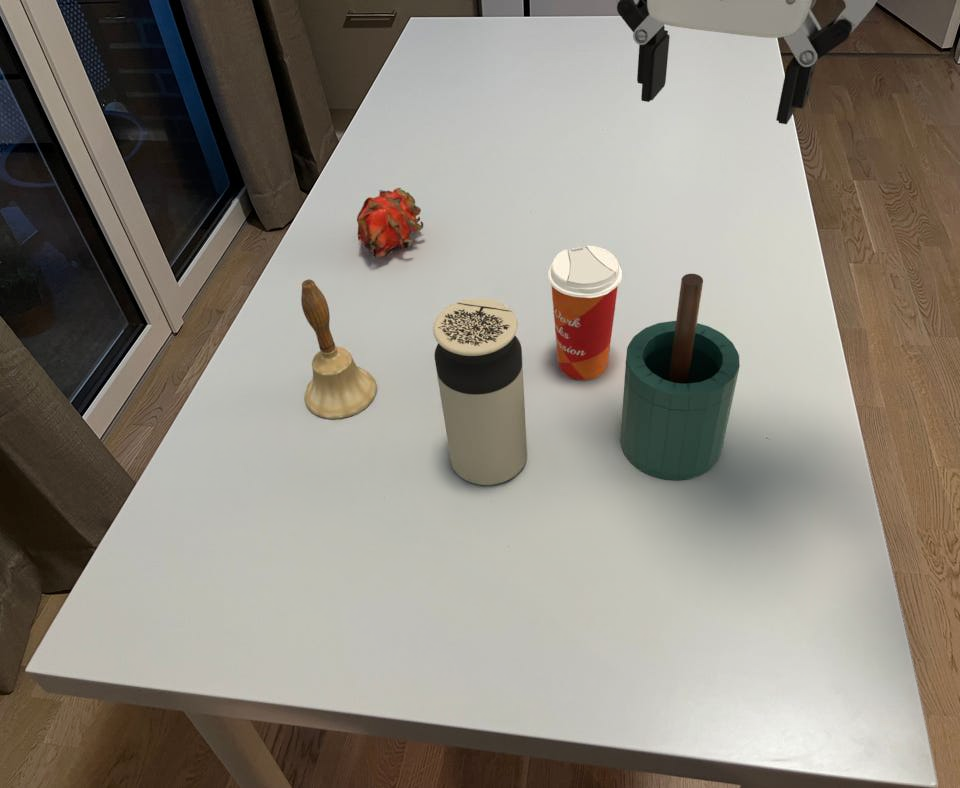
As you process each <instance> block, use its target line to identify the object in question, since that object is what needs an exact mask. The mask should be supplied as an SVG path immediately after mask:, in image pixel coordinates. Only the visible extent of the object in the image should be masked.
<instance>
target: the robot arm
mask: <svg viewBox="0 0 960 788" xmlns="http://www.w3.org/2000/svg"><path fill="white" fill-rule="evenodd" d="M842 1H843V2H844V5H845V7H844V9H843V10H842V11H841V12H840V14H839V15H838V16H837V17H835V18H834V19H833V20H831V21H830V22H829V23H827V24H826V25H825V26H823V27H821V25H820V23H819V21H818V20H817V18H816V16H815V15H814V13H813V11H812V9H813V8H814V7H815V4H816V3H817V0H615V2H616V4H617V5H616V11H617V13H618V15H619V16H620V18H622V20H623V21H624V23H625V24H626V25H627V27H628V28H629V29H630V30H631V32H632V39H633V40H634V43H636V44H637V45H638V57H637V58H638V59H637V60H638V61H637V77H636V81H637V84H639V85H641V98H640V100H641V102H646V103H650V102H651V101H653V100H654V99H655V98H656V97H657V96H658V94H659V93H660V92H661V91H662V90H663V88H664V87H665V85H666V83H667V82H666V81H667V72H668V59H669V50H670V49H669V48H670V34H669V30H666V27H665V25H666V26H670V27H675V28H681V29H689V30H697V31H706V32H714V33H722V34H729V35H738V36H748V37H756V38H765V39H766V38H769V39H778V38H783V39H784V41H785V42H786V45H788V48H789V50H790V51H791V53H792V54H793V57H792V58H791V60H790V61H789V63H788V64H787V66H786V68H785V74H784V78H783V83H782V87H781V88H782V89H781V94H780V98H779V102H778V103H779V104H778V109H777V114H776V119H775V121H777V122H778V124H781V125H787V124H788V123H789V121H790V120H791V118H792V116H793V114H794V113H795V111H796V110H797V109H802V110H803V109H804V108H805V107H806V105H807V102H808V99H809V97H810V92H811V87H812V82H813V79H814V75H815V74H814V73H815V70H816V65H817V61H818V60H820V59H821V58H822V57H824V56H825V55H827V54H828V53H829V52H831V51H832V50H834V49H835V48H837V47H838V46H839V45H841V44H843V43H844V42H845V41H847V39H848V38H849V37H850V36H851V34H853V32H854V31H855V30H856V28H857V27H858V26H859V25H860V23H862V21H863V20H864V19H865V18H866V17H867V15H868V14H869V13H870V11H871V10H872V9H873V8H874V7H875V6H876V3H877V2H878V0H842Z"/></svg>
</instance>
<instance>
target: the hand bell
mask: <svg viewBox="0 0 960 788" xmlns="http://www.w3.org/2000/svg"><path fill="white" fill-rule="evenodd" d="M300 300H301V301H300V303H301V308H302V311H303V314H304V317H305V319H306V321H307V322H308V323H307V324H309V326H310V327H311V328H312V330H313V331H314V333H315V335H316V339H317V343H318V347H319V351H317V353H315V355H314V356H313V358H312V360H311V368H312V379H311V380H310V381H309V383H308V385H307V387H306V389H305V391H304V403H305V406H306V408H307V409H308V410H309V412H311V413H312V414H313V415H315V416H317V417H320V418H323V419H327V420H342V419H346V418H350V417H353V416H355V415H357V414H359V413H361V412H363V411H364V410H365V409H367V407H369V405H370V404H372V402H373V401H374V399H375V397H376V395H377V389H378V387H377V386H378V385H377V382H376V379H375V378H374V377H373V375H372V374H371V373H370V372H368V371H367V370H365V369H364V368H362V367H360V366H357V363H356V362H355V361H354V358H353V356H352V354H351V352H350V351H349V350H348V349H346V348H345V347H343V346H337V345H336V343H335V340H334V337H333V335H332V332H331V329H330V328H331V327H330V319H331V318H330V309H329V304H328V302H327V299H326V297H325V295H324V293H323V292H322V290H320V288H319V287H318V286H317V285H316V282H315V281H314V280H313V279H310V278H309V279H305V280H303V281H302V283H301V299H300Z"/></svg>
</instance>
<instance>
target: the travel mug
mask: <svg viewBox="0 0 960 788" xmlns="http://www.w3.org/2000/svg"><path fill="white" fill-rule="evenodd" d="M517 331H518V318H517V316H516V314H515V312H514V311H513V310H512V309H511V308H510V307H509V306H507V305H505V304H504V303H501V302H499V301H497V300H493V299H487V298H471V299H465V300H464V299H463V300H460V301H458V302H456V303H453V304H451V305H449V306H448V307H445V308H444V309H443V310H442V311H441V312H439V314H438V315H437V317H436V318H435V320H434V323H433V326H432V334H433V337H434V339H435V340H436V342H437V345H436V347H435V348H434V349H435V350H434V356H433V357H434V364H435V370H436V375H437V383H438V388H439V394H440V400H441V408H442V414H443V420H444V421H443V422H444V426H445V432H446V434H445V435H446V439H447V445H448V446H447V447H448V452H449V457H450V465H451V466H452V468H453V470H454V472H455V473H456V474H457V475H458V476H459V477H461V478H462V479H463V480H465V481H467V482H470V483H472V484H476V485H480V486H481V485H483V486H491V485H492V486H493V485H497V484H501V483H504V482H507V481H509V480H510V479H512V478H514V477H515V476H516V475H518V474H519V473H520V472H521V471H522V469H523V468H524V467H525V465H526V463H527V458H528V443H527V425H526V406H525V387H524V369H523V367H524V366H523V350H522V344H521V342H520V340H519V338H518V336H516V335H517Z"/></svg>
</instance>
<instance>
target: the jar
mask: <svg viewBox="0 0 960 788" xmlns="http://www.w3.org/2000/svg"><path fill="white" fill-rule="evenodd" d="M675 326H676V320H670V321H663V322H657V323H655V324H652V325H649V326H647V327H645V328H643V329H642V330H640V331H638V333H636V334H635V335H634V336H633V337H632V339H631V340H630V342H629V343H628V345H627V347H626V359H625V368H624V369H625V370H624V383H623V394H622V395H623V399H622V409H621V410H622V411H621V421H620V422H621V424H620V447H621V449H622V451H623V454H624V455H625V457H626V459H627V460H628V461H629V462H630V463H631V464H632V465H633V466H634V467H635V468H637V469H638V470H639V471H641V472H643V473H645V474H647V475H649V476H652V477H655V478H657V479H662V480H668V481H683V480H691V479H694V478H697V477H700V476H702V475H704V474H706V473H707V472H708V471H710V470H711V469H712V468H713V467H714V466H715V465H716V464H717V462H718V461H719V459H720V457H721V454H722V449H723V447H724V443H725V438H726V433H727V428H728V423H729V418H730V414H731V410H732V404H733V400H734V395H735V390H736V386H737V381H738V376H739V373H740V372H739V371H740V353H739V352H738V350H737V348H736V346H735V345H734V342H732V341H731V340H730V338H728V337H727V336H726V335H725V334H723V333H722V332H721V331H719V330H717V329H715V328H713V327H711V326H708V325H705V324H702V323H698V322H697V325H696V332H695V339H694V345H693V352H692V358H691V365H690V372H689V378H688V384H683V383H674V382H670V381H669V373H670V366H671V358H672V350H673V342H674V334H675Z"/></svg>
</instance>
